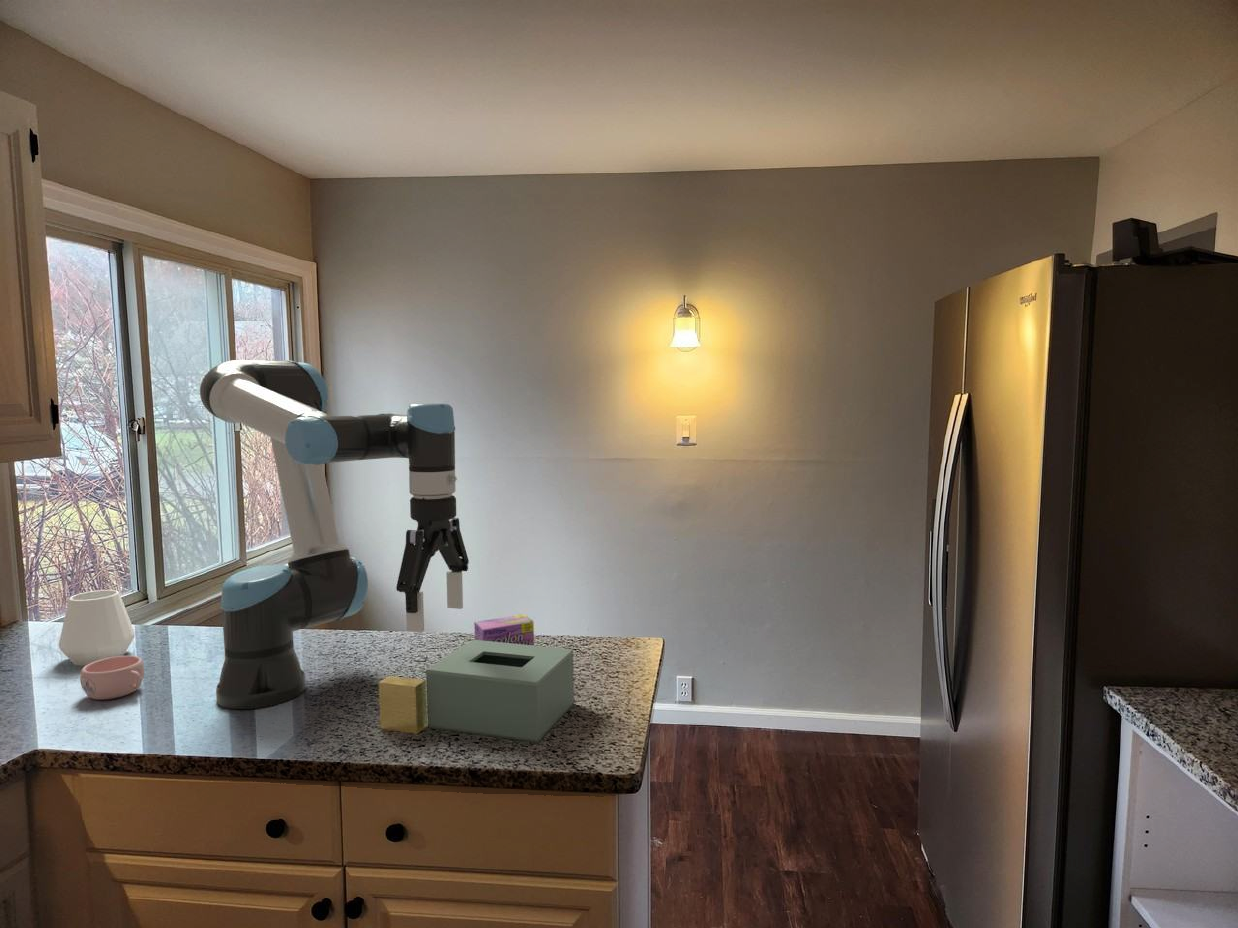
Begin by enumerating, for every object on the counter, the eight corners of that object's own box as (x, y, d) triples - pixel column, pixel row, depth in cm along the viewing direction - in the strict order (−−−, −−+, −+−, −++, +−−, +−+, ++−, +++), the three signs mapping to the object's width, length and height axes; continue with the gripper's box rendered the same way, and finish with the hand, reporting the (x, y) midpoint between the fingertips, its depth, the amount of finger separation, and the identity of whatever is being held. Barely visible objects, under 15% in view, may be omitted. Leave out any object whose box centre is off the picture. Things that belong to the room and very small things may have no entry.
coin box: (427, 727, 125) (425, 669, 124) (474, 691, 140) (472, 639, 139) (537, 742, 119) (536, 682, 118) (574, 703, 134) (573, 649, 133)
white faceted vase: (148, 654, 163) (143, 591, 162) (77, 673, 152) (72, 606, 150) (118, 644, 170) (113, 584, 169) (48, 661, 159) (43, 597, 158)
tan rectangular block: (380, 728, 125) (378, 682, 124) (391, 721, 128) (389, 675, 127) (416, 733, 123) (415, 686, 122) (426, 726, 126) (425, 680, 125)
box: (484, 689, 141) (482, 628, 140) (475, 679, 146) (473, 620, 145) (535, 679, 146) (534, 620, 145) (525, 670, 151) (524, 613, 150)
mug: (68, 701, 138) (66, 669, 137) (120, 681, 147) (118, 652, 147) (116, 709, 134) (113, 677, 133) (165, 688, 143) (163, 658, 143)
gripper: (414, 507, 113) (418, 644, 115) (485, 487, 137) (488, 600, 139) (370, 505, 115) (374, 640, 117) (448, 485, 139) (451, 597, 141)
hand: (436, 619), depth 128 cm, fingers open, 13 cm apart
